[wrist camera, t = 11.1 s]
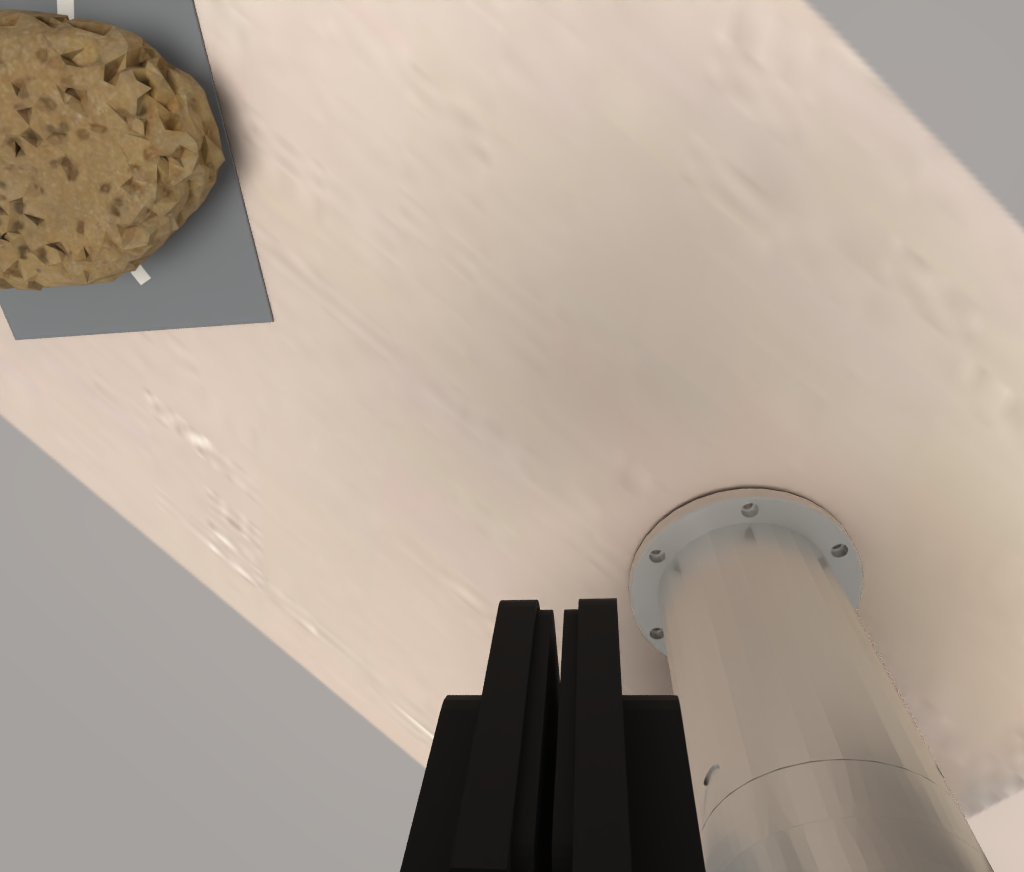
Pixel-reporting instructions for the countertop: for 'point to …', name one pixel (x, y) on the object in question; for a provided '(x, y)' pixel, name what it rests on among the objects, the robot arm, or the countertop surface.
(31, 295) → the mat
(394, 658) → the countertop surface
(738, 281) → the countertop surface
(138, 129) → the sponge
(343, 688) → the countertop surface
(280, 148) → the countertop surface
